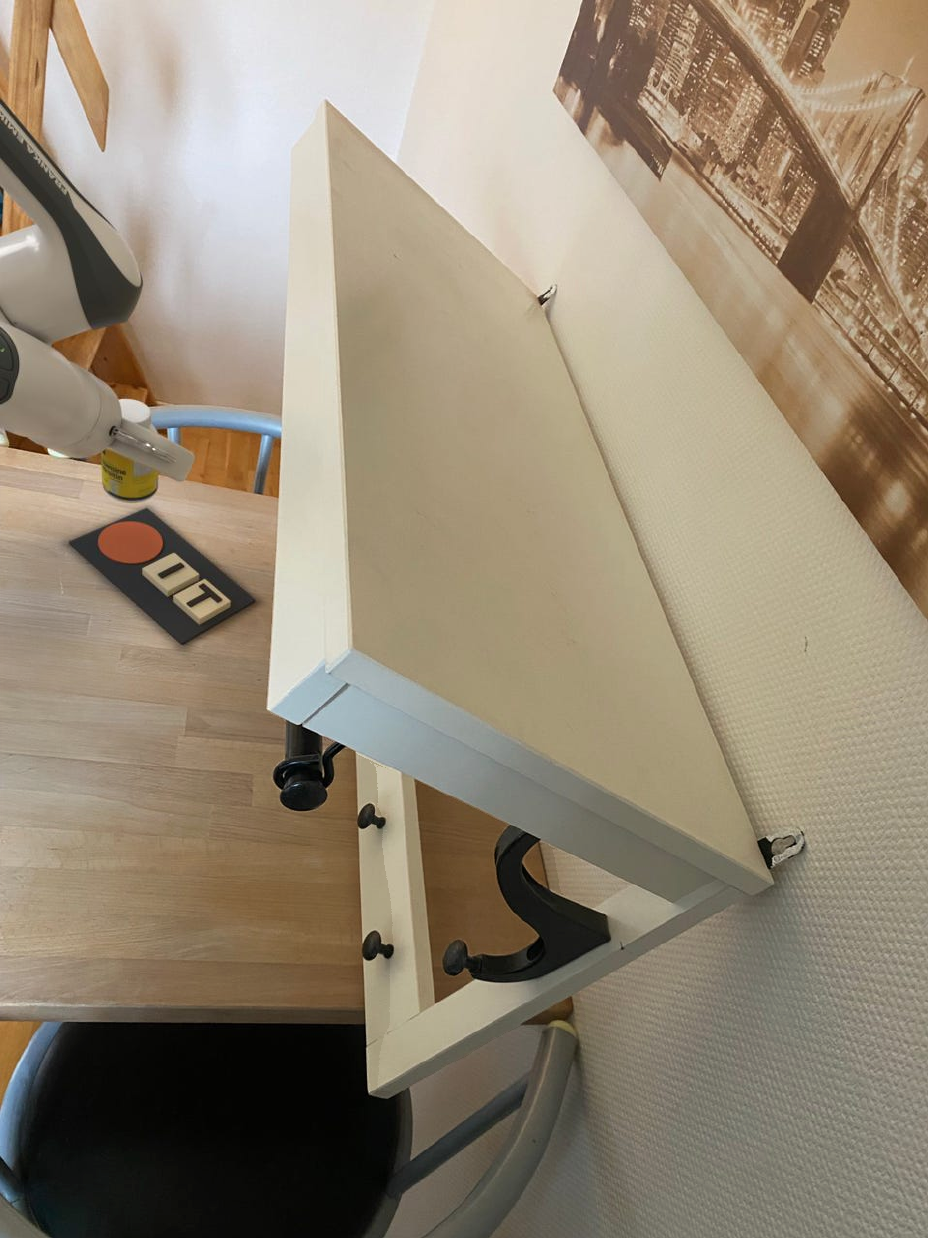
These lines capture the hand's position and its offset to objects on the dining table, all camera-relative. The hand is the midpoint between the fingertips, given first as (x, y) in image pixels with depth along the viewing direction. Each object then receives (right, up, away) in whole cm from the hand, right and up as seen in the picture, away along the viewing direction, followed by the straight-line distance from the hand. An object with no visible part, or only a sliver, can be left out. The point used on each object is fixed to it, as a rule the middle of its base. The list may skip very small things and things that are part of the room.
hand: (132, 444), depth 98 cm
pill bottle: (-2, -5, +4) cm, 7 cm away
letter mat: (0, -15, +10) cm, 18 cm away
